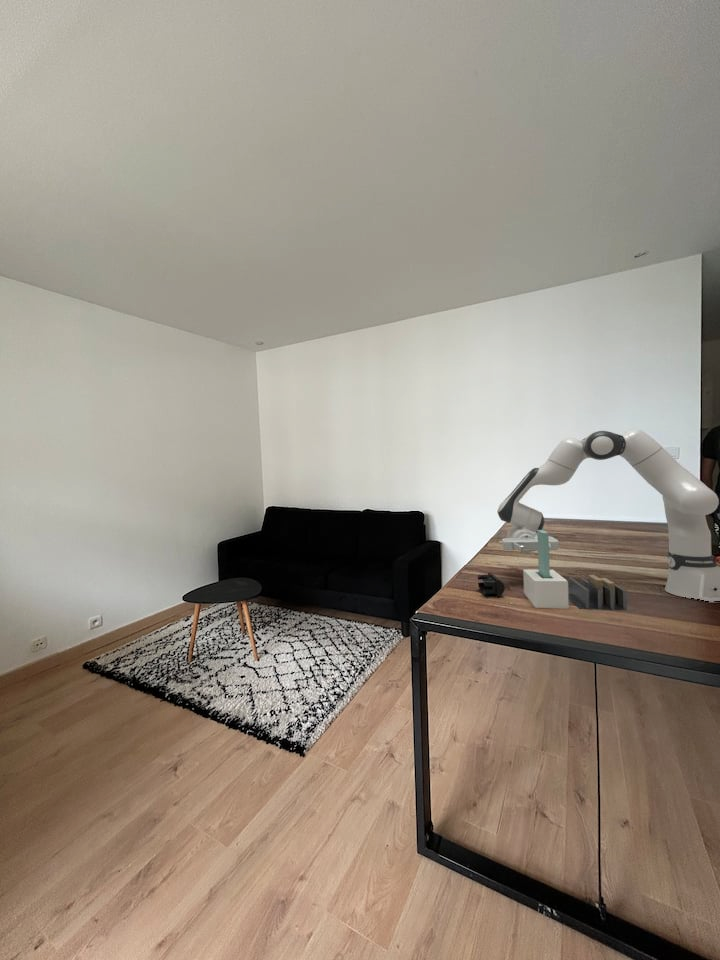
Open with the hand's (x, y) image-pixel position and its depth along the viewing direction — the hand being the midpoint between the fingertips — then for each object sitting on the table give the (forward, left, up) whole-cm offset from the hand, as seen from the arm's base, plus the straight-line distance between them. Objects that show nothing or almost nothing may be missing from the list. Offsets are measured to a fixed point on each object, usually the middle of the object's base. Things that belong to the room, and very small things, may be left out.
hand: (535, 548), depth 134 cm
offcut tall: (-16, +9, -16) cm, 25 cm away
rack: (-16, +9, -17) cm, 25 cm away
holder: (0, +9, -17) cm, 20 cm away
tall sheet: (0, +9, -16) cm, 19 cm away
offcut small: (-20, +9, -16) cm, 27 cm away
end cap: (+16, -1, -17) cm, 24 cm away
